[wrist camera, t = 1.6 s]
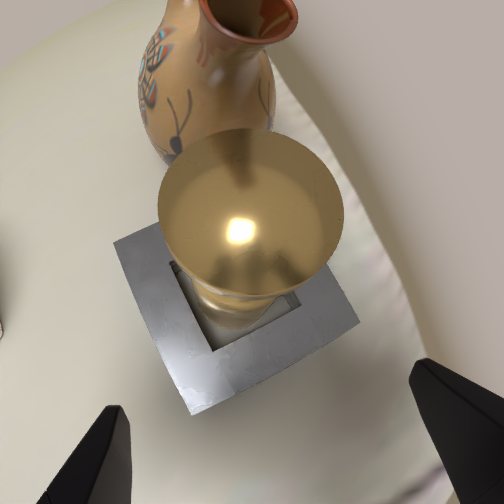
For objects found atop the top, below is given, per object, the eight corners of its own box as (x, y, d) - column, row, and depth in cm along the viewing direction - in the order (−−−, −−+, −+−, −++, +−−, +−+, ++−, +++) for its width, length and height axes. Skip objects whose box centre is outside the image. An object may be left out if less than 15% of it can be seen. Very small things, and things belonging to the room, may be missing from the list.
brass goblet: (291, 311, 22) (376, 240, 10) (213, 351, 21) (208, 329, 9) (250, 239, 24) (284, 111, 12) (175, 274, 22) (133, 164, 10)
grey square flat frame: (346, 327, 22) (360, 322, 20) (194, 410, 19) (192, 415, 17) (266, 192, 25) (270, 175, 23) (122, 255, 22) (113, 242, 20)
